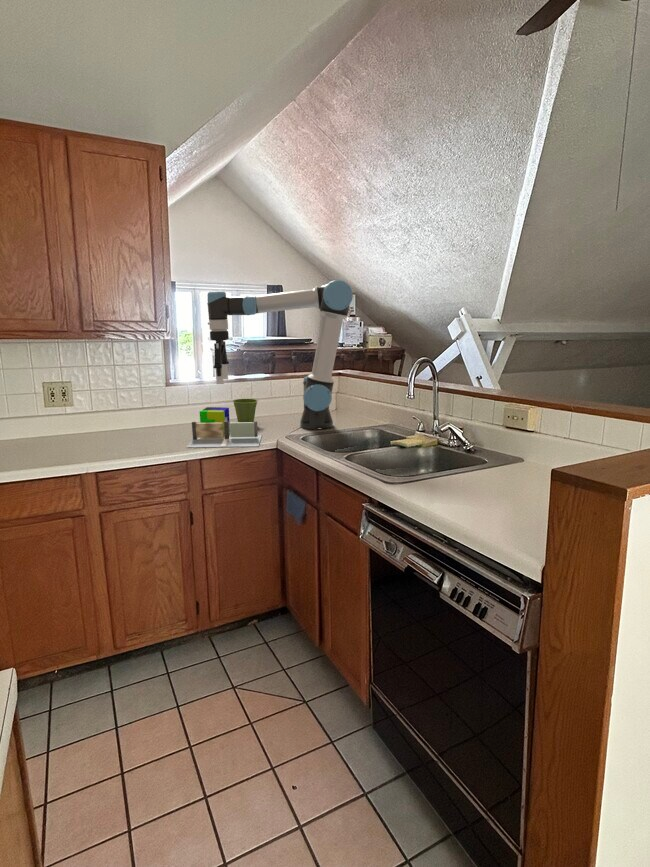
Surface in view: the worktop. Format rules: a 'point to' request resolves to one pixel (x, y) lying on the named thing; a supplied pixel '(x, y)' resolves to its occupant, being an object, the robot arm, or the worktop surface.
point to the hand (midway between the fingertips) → (222, 381)
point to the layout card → (225, 442)
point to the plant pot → (245, 409)
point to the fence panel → (243, 429)
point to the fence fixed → (210, 430)
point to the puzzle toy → (215, 415)
